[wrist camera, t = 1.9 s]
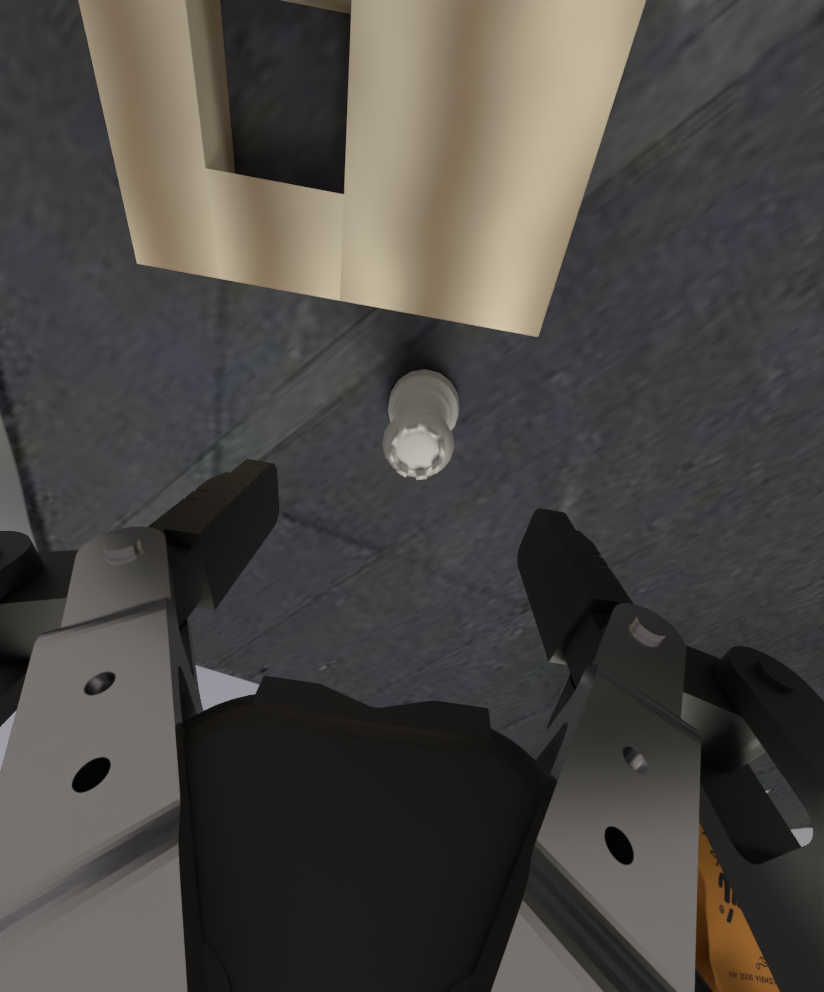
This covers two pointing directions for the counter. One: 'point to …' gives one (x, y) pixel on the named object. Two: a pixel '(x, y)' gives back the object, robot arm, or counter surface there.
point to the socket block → (374, 151)
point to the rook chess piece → (421, 424)
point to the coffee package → (725, 933)
